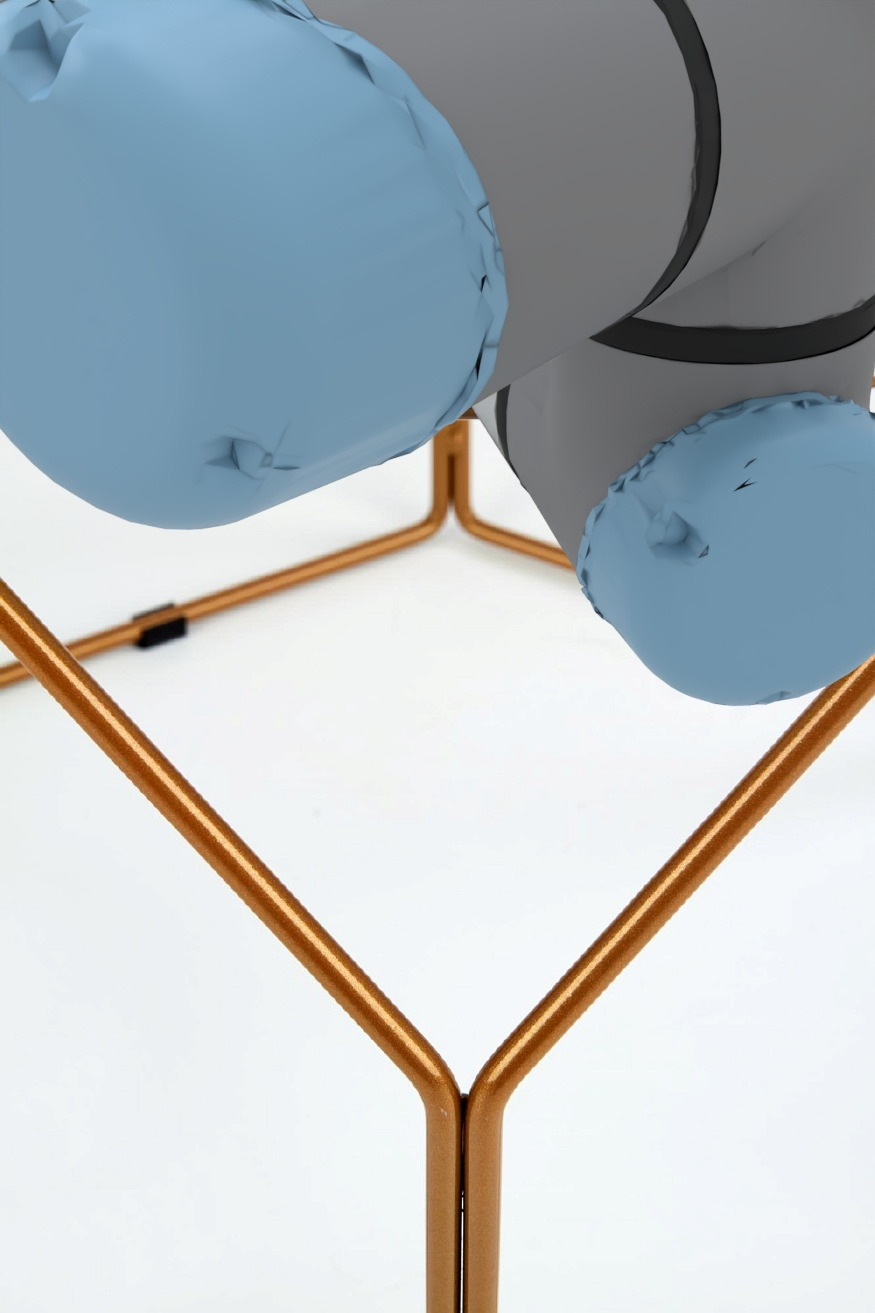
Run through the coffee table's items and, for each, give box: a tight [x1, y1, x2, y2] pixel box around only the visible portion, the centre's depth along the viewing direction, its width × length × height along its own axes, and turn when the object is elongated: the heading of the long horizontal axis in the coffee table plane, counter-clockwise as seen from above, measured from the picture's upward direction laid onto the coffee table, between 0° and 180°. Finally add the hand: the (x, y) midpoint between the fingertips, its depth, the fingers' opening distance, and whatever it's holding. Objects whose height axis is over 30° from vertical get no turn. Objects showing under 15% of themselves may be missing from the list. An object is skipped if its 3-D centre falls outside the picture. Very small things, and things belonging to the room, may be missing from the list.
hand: (403, 140), depth 64 cm, fingers closed
